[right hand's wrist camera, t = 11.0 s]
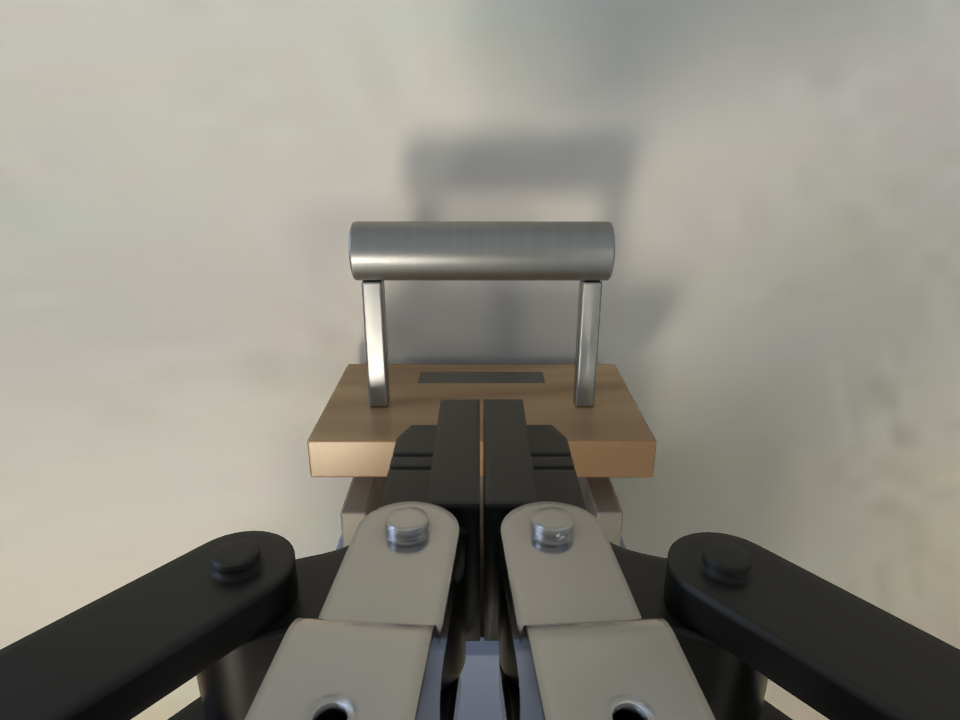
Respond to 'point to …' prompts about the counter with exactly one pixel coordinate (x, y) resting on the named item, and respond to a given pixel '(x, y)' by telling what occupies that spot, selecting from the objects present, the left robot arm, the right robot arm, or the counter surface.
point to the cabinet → (479, 678)
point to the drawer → (420, 387)
